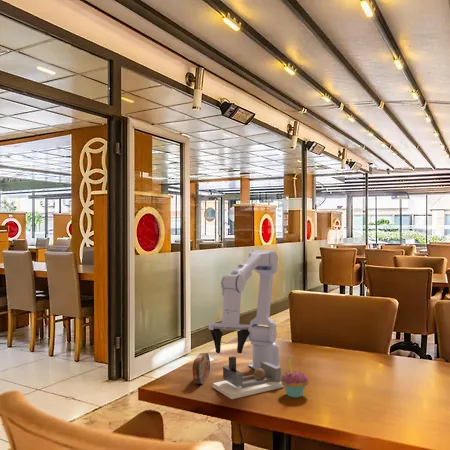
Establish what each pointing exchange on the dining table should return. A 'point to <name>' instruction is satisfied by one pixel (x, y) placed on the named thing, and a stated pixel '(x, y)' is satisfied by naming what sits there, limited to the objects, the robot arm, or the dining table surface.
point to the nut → (259, 374)
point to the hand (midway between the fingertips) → (228, 352)
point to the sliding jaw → (232, 373)
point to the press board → (252, 383)
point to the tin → (201, 368)
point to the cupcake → (294, 382)
